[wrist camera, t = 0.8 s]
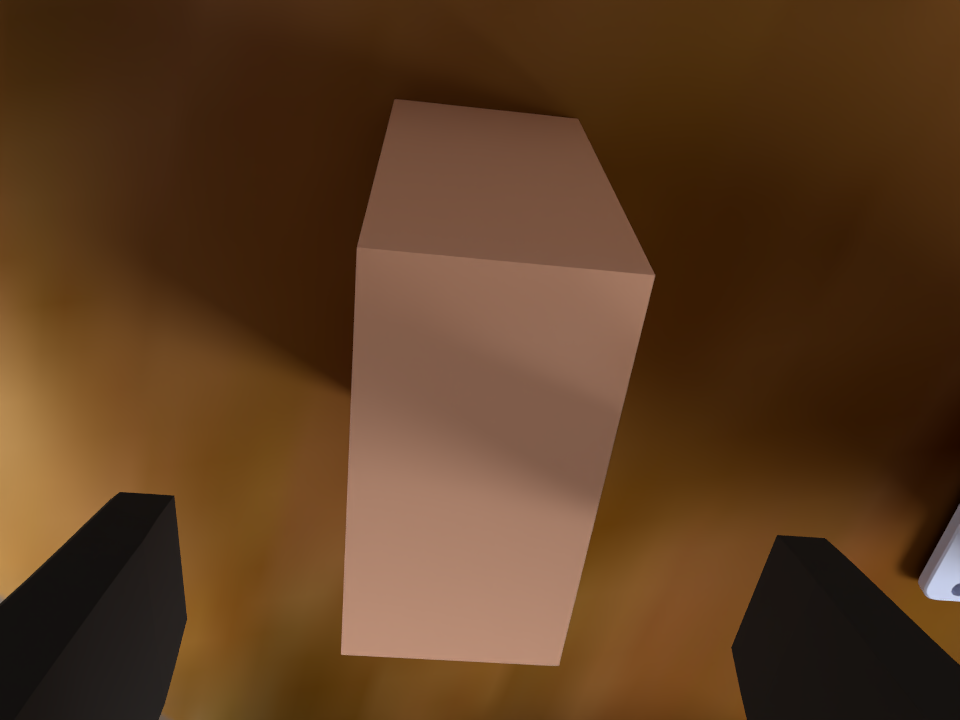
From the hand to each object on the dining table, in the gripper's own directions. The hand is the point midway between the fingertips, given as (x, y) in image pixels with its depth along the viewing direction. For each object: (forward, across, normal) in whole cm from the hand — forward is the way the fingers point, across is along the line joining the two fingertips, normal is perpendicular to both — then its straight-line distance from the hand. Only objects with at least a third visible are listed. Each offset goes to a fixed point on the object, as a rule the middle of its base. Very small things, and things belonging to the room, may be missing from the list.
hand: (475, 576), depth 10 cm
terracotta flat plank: (+9, 0, 0) cm, 9 cm away
